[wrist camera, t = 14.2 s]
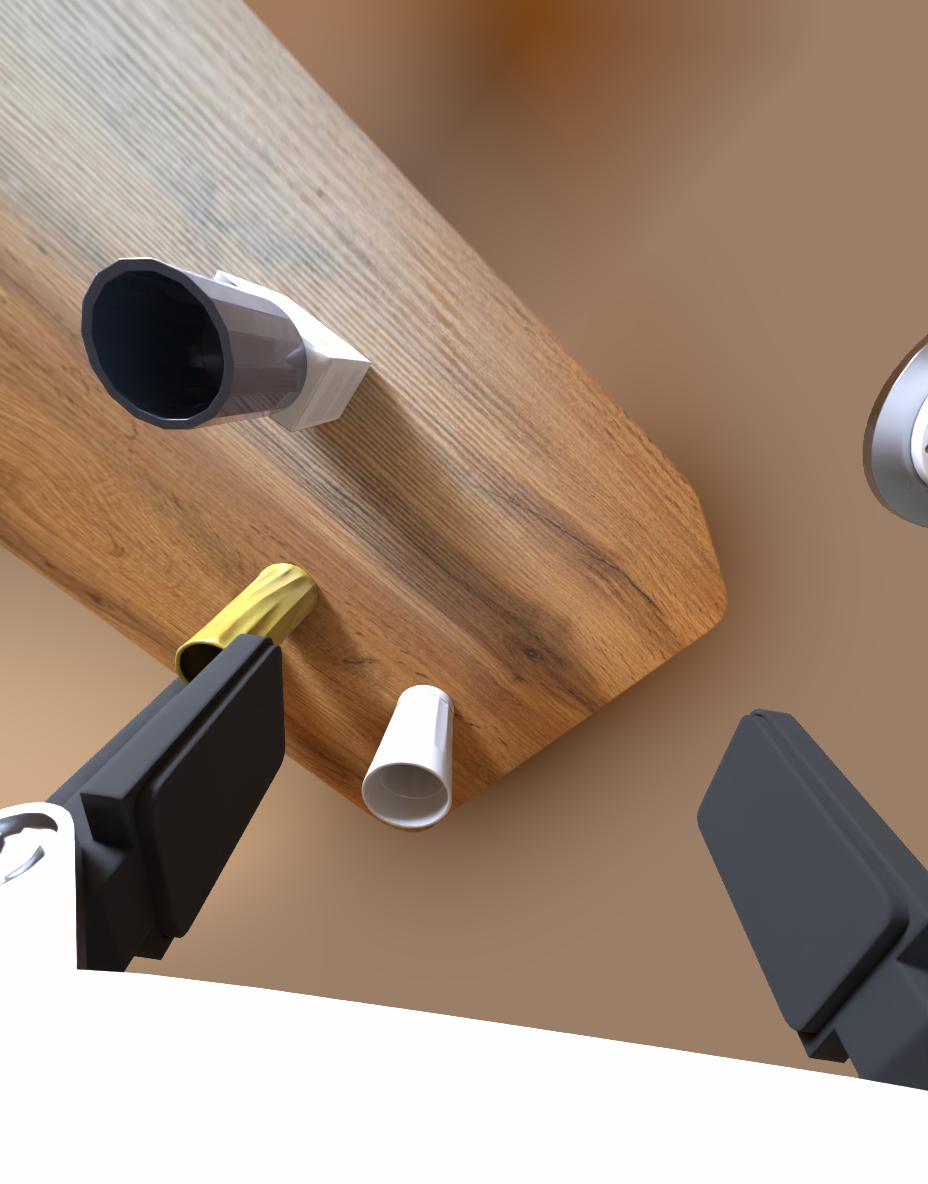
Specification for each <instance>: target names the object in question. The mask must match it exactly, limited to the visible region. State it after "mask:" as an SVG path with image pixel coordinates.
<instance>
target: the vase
mask: <svg viewBox="0 0 928 1184" xmlns="http://www.w3.org/2000/svg"><path fill="white" fill-rule="evenodd" d="M317 599H318V595H317V589H316V586H315V583H314V581H313V580H312V578H311V577H310V576H309V575H308V574H307V573H306V572H305V571H304V570H302V569H300V568H299V567H296V566H294V565H291V564H274V565H271V566H269V567H267V568H266V569H264V570H263V571H262V572H261V574H260V575H259V577H258V578H257V579H256V580H255V581H254V582H253V583H251V584H250V585H249V586H248V587H247V588H246V589H245V590H244V591H243V592H242V593H241V594H240V595H239V596H238V597H237V598H236V599H235V600H233V601H232V602H231V603H230V604H229V605H228V606H227V607H225V608H224V609H223V610H222V611H221V612H220V613H219V614H218V615H217V616H216V617H215V618H214V619H213V620H211V621H210V622H209V623H208V624H207V625H206V626H205V627H204V628H202V629H201V630H200V631H199V632H198V633H197V634H196V635H195V636H193V637H192V638H191V639H190V640H189V641H187V642H186V643H185V644H184V645H183V646H181V647H180V648H179V649H178V651H177V653H176V657H175V667H176V671H177V673H178V676H179V678H180V679H181V681H182V682H183V683H184V684H185V686H187V685H188V684H189V683H190V682H191V681H192V680H193V679H194V678H195V677H196V676H197V675H198V674H199V673H200V672H201V671H202V670H203V669H204V668H205V667H206V666H207V665H208V664H209V663H210V662H211V661H213V660H214V659H215V658H216V657H217V656H218V655H219V654H220V653H221V652H222V651H223V650H224V649H225V648H226V647H227V646H228V645H229V644H230V643H231V642H232V641H233V640H234V639H235V638H236V637H237V636H238V635H239V634H250V635H257V636H264V637H270V638H271V639H272V640H273V643H274V645H275V646H279V645H280V644H281V643H282V642H283V640H284V639H285V638H286V637H287V636H288V635H289V634H290V633H291V632H292V631H293V630H294V629H295V628H296V627H297V626H298V625H299V624H300V623H301V622H302V620H303V619H304V618H305V617H306V616H307V615H309V614H310V613H311V612H312V611H313V610H314V608H315V606H316V604H317Z"/></svg>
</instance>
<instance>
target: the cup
mask: <svg viewBox="0 0 928 1184" xmlns="http://www.w3.org/2000/svg"><path fill="white" fill-rule="evenodd" d="M453 717H454V705H453V703H452V701H451V699H450V698H449V696H448V695H447V694H446V693H444V692H443V691H442V690H440V689H438V688H435V687H432V686H426V685H421V686H415V687H412V688H410V689H408V690H406V691H405V692H404V693H403V694H402V695H401V696H400V698H399V700H398V704H397V707H396V709H395V712H394V714H393V716H392V719H391V721H390V723H389V725H388V728H387V730H386V732H385V735H384V737H383V739H382V741H381V744H380V746H379V748H378V751H377V753H376V755H375V757H374V760H373V762H372V764H371V766H370V768H369V770H368V773H367V775H366V777H365V779H364V781H363V784H362V797H363V800H364V802H365V804H366V806H367V807H368V809H369V810H370V811H371V812H372V813H373V814H374V815H375V816H376V817H378V818H379V819H381V820H382V821H384V822H386V823H389V824H391V825H394V826H398V827H403V828H421V827H426V826H430V825H432V824H434V823H436V822H438V821H440V820H441V819H442V818H443V817H444V816H445V815H446V814H447V813H448V811H449V809H450V807H451V803H452V735H453Z"/></svg>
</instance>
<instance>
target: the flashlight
mask: <svg viewBox="0 0 928 1184" xmlns="http://www.w3.org/2000/svg"><path fill="white" fill-rule="evenodd" d="M185 687H186V686H185V684H184V683H183V682H182V681H181V679H180V678H179V677H177V679H175V680H174V681H173V682H172V683H171V684H170V685H169V686H168V687H167V688H166V689H165V690H164V691H163V692H161V693H160V694H159V695H158V696H157V697H156V698H155V699H154V700H153V701H152V702H151V703H150V704H149V705H148V706H147V707H146V708H145V709H143V710H142V711H141V712H140V713H139V714H138V715H137V716H136V717H135V718H134V719H133V720H132V721H130V723H128V724H127V725H126V726H125V727H124V728H123V729H122V730H121V731H120V732H119V733H118V734H117V735H115V737H113V738H112V739H111V740H110V741H109V742H108V743H107V744H106V745H105V746H104V747H103V748H102V749H101V750H99V752H97V753H96V754H95V755H94V756H93V757H92V758H91V759H90V760H89V761H88V762H87V763H86V764H85V765H83V766H82V767H81V768H80V769H79V770H78V771H77V772H76V773H75V774H74V775H73V776H72V777H71V778H70V779H69V780H67V781H66V782H65V783H64V784H63V785H62V786H61V787H60V788H59V789H58V790H57V791H56V792H55V793H54V794H52V795H51V796H50V797H49V798H48V799H47V800H46V801H45V802H44V803H49V804H53V805H58V806H61V807H62V806H63V805H64V804H65V803H66V802H67V801H68V800H69V799H70V798H71V797H72V796H73V795H74V794H75V793H76V792H77V791H78V790H79V789H80V788H81V787H82V786H83V785H84V784H85V783H86V782H87V781H89V780H90V779H91V778H92V777H93V776H94V775H95V774H96V773H97V772H98V771H99V770H100V769H101V768H102V767H103V766H104V765H105V764H106V763H107V762H108V761H109V760H110V759H111V758H112V757H113V756H114V755H115V754H116V753H117V752H118V751H119V750H120V749H121V748H122V747H123V746H124V745H125V744H126V743H127V742H128V741H129V740H130V739H131V738H132V737H133V736H134V735H135V734H136V733H137V732H138V731H139V730H140V729H141V728H142V727H143V726H144V725H145V724H146V723H147V722H148V721H149V720H150V719H151V718H152V717H154V716H155V715H156V714H157V713H158V712H159V711H160V710H161V709H162V708H163V707H164V706H165V705H166V704H167V703H168V702H169V701H170V700H171V699H172V698H173V697H175V696H176V695H177V694H179V693H180V692H181V691H182V690H183V689H184V688H185Z"/></svg>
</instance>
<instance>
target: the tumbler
mask: <svg viewBox="0 0 928 1184" xmlns="http://www.w3.org/2000/svg"><path fill="white" fill-rule="evenodd" d="M81 335H82V338H83V342H84V345H85V348H86V352H87V355H88V358H89V362H90V365H91V366H92V369H93V370H94V372H95V373H96V375H97V377H98V378H99V380H100V381H101V383H102V384H103V386H104V387H105V389H106V390H107V392H108V393H109V395H111V397H112V398H113V399H114V400H116V401H117V402H118V403H119V404H120V405H121V406H123V407H124V408H125V409H126V410H127V411H128V412H130V413H131V414H132V415H133V416H134V417H136V418H138V419H140V420H143V421H145V422H147V423H150V424H152V425H155V426H157V427H160V428H162V429H196V428H202V427H208V426H213V425H219V424H225V423H231V422H237V421H243V420H248V419H254V418H260V417H266V416H270V415H272V414H276V413H278V412H281V411H283V410H285V409H286V408H288V407H289V406H290V405H291V404H293V403H294V401H295V400H296V399H297V398H298V396H299V395H300V393H301V391H302V389H303V387H304V384H305V380H306V375H307V355H306V350H305V346H304V343H303V340H302V337H301V335H300V333H299V331H298V329H297V327H296V325H295V324H294V322H293V321H292V320H291V318H290V317H289V316H288V315H287V314H286V313H285V312H284V311H283V310H282V309H281V308H280V307H279V306H278V305H276V304H275V303H273V302H272V301H270V300H268V299H266V298H264V297H262V296H259V295H257V294H255V293H252V292H250V291H247V290H244V289H241V288H239V287H236V286H233V285H230V284H227V283H224V282H221V281H218V280H215V279H212V278H209V277H206V276H203V275H201V274H198V273H195V272H192V271H189V270H186V269H183V268H180V267H177V266H174V265H171V264H168V263H166V262H163V261H160V260H157V259H154V258H122V259H119V260H117V261H116V262H114V263H113V264H111V265H109V266H108V267H106V268H105V269H103V270H101V271H100V272H98V273H97V274H96V275H95V277H94V279H93V281H92V283H91V285H90V287H89V289H88V291H87V292H86V294H85V296H84V298H83V301H82V320H81Z"/></svg>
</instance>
